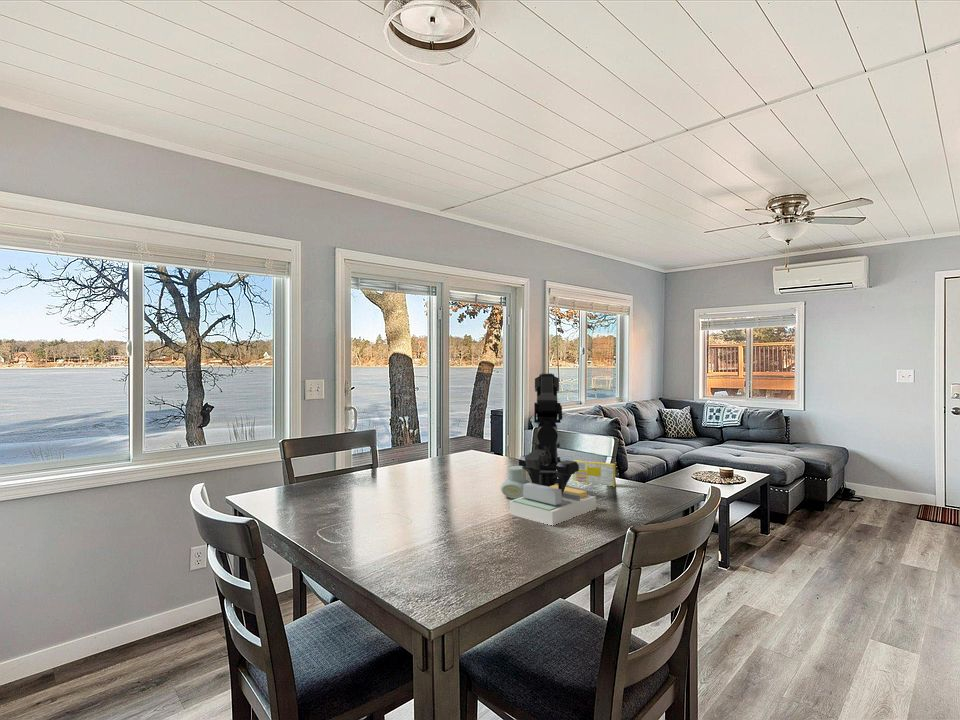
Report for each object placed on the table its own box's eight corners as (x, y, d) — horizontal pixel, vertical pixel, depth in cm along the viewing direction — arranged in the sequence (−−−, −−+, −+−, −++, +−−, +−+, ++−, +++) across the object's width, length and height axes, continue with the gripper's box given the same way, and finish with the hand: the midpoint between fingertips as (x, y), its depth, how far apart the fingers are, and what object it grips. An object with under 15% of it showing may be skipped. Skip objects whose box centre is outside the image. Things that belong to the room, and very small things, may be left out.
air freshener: (536, 496, 174) (536, 466, 173) (527, 502, 166) (527, 471, 166) (507, 492, 178) (507, 463, 178) (497, 498, 171) (497, 468, 171)
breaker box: (509, 514, 153) (509, 495, 153) (554, 499, 169) (554, 482, 169) (552, 526, 142) (552, 506, 142) (595, 509, 157) (595, 491, 157)
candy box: (616, 486, 186) (615, 463, 186) (614, 487, 184) (614, 464, 184) (574, 481, 195) (573, 459, 195) (572, 482, 193) (571, 460, 193)
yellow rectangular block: (547, 491, 163) (547, 486, 163) (555, 489, 166) (555, 484, 166) (579, 498, 155) (579, 493, 155) (586, 496, 157) (586, 491, 157)
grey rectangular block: (523, 497, 155) (523, 484, 155) (529, 495, 157) (529, 482, 157) (555, 505, 146) (555, 491, 146) (561, 503, 148) (561, 489, 148)
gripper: (506, 440, 154) (507, 492, 154) (556, 447, 141) (557, 503, 141) (529, 436, 162) (530, 485, 162) (579, 442, 149) (580, 496, 149)
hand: (548, 492), depth 153 cm, fingers open, 9 cm apart
